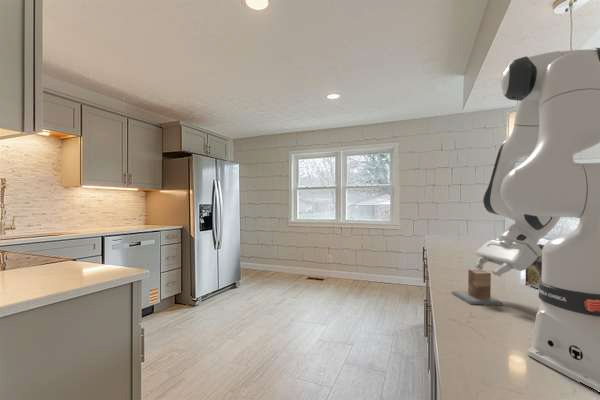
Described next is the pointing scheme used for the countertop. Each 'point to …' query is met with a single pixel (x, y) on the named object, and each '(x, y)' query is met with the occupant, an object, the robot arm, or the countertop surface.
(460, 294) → the plate
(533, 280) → the coffee box
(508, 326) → the countertop surface
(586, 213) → the robot arm
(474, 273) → the walnut block
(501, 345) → the countertop surface
